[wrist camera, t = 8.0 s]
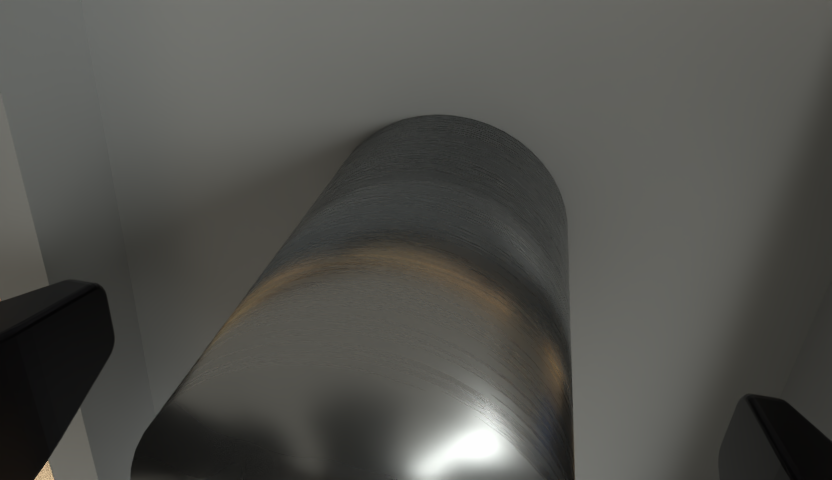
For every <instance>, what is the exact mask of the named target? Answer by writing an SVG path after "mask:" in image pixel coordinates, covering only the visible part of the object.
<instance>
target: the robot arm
mask: <svg viewBox="0 0 832 480" xmlns="http://www.w3.org/2000/svg"><path fill="white" fill-rule="evenodd" d="M114 343H115V333H114V328H113V323H112V318H111V313H110V308H109V303H108V298H107V294H106V291H105V289H104V288H103V287H102V286H101V285H100V284H98V283H94V282H88V281H82V280H76V279H67V280H63V281H60V282H57V283H54V284H51V285H48V286H45V287H42V288H39V289H36V290H33V291H30V292H27V293H24V294H21V295H18V296H15V297H12V298H9V299H6V300H3V301H0V480H34V479H35V478H36V476H37V475H38V473H39V472H40V471H41V469H42V468H43V466H44V465H45V463H46V462H47V461H48V459H49V458H50V456H51V455H52V453H53V451H54V450H55V448H56V447H57V445H58V444H59V442H60V440H61V439H62V437H63V435H64V434H65V432H66V430H67V429H68V427H69V425H70V424H71V422H72V420H73V418H74V417H75V415H76V413H77V412H78V410H79V408H80V407H81V405H82V403H83V402H84V400H85V398H86V396H87V395H88V393H89V391H90V390H91V388H92V386H93V385H94V383H95V381H96V379H97V378H98V376H99V374H100V373H101V371H102V369H103V368H104V366H105V364H106V363H107V361H108V359H109V357H110V356H111V353H112V351H113V348H114ZM718 473H719V480H832V441H831V440H830V439H829V438H828V437H827V436H825V435H824V434H823V433H822V432H821V431H820V430H819V429H817V428H816V427H815V426H814V425H813V424H812V423H811V422H810V421H808V420H807V419H806V418H805V417H804V416H803V415H802V414H800V413H799V412H798V411H797V410H796V409H795V408H794V407H792V406H791V405H790V404H789V403H788V402H786V401H785V400H783V399H780V398H775V397H769V396H763V395H757V394H751V393H748V394H745V395H743V396H742V397H741V398H740V399H739V400H738V402H737V404H736V407H735V409H734V412H733V414H732V417H731V419H730V422H729V424H728V427H727V429H726V432H725V435H724V437H723V440H722V442H721V445H720V448H719V454H718Z"/></svg>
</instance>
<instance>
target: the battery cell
mask: <svg viewBox="0 0 832 480" xmlns="http://www.w3.org/2000/svg"><path fill="white" fill-rule="evenodd" d="M130 480H575V458H574V424H573V390H572V357H571V323H570V289H569V255H568V222H567V215H566V209H565V204H564V202H563V199H562V196H561V193H560V190H559V188H558V186H557V184H556V182H555V180H554V178H553V176H552V175H551V174H550V172H549V171H548V169H547V168H546V167H545V165H544V164H543V163H542V161H541V160H540V159H539V158H538V157H537V156H536V155H535V154H534V153H533V152H532V151H531V150H530V149H529V148H528V147H526V146H525V145H524V144H523V143H521V142H520V141H519V140H517V139H516V138H514V137H513V136H511V135H509V134H508V133H506V132H505V131H503V130H501V129H498V128H496V127H494V126H492V125H490V124H487V123H484V122H481V121H478V120H474V119H471V118H465V117H460V116H452V115H427V116H419V117H414V118H409V119H404V120H402V121H399V122H396V123H393V124H390V125H388V126H386V127H384V128H382V129H380V130H379V131H377V132H375V133H374V134H372V135H371V136H369V137H368V138H367V139H365V140H364V141H363V142H362V143H361V144H359V145H358V146H357V147H356V148H355V149H354V150H353V151H352V153H351V154H350V155H349V156H348V158H347V159H346V160H345V162H344V163H343V164H342V166H341V167H340V168H339V170H338V171H337V172H336V174H335V175H334V176H333V178H332V179H331V180H330V182H329V183H328V185H327V186H326V187H325V189H324V190H323V191H322V193H321V194H320V195H319V197H318V198H317V199H316V201H315V202H314V203H313V205H312V206H311V207H310V209H309V210H308V212H307V213H306V214H305V216H304V217H303V218H302V220H301V221H300V222H299V224H298V225H297V226H296V228H295V229H294V230H293V232H292V233H291V234H290V236H289V237H288V239H287V240H286V241H285V243H284V244H283V245H282V247H281V248H280V249H279V251H278V252H277V253H276V255H275V256H274V257H273V259H272V260H271V261H270V263H269V264H268V266H267V267H266V268H265V270H264V271H263V272H262V274H261V275H260V276H259V278H258V279H257V280H256V282H255V283H254V284H253V286H252V287H251V288H250V290H249V291H248V293H247V294H246V295H245V297H244V298H243V299H242V301H241V302H240V303H239V305H238V306H237V307H236V309H235V310H234V311H233V313H232V314H231V315H230V317H229V318H228V320H227V321H226V322H225V324H224V325H223V326H222V328H221V329H220V330H219V332H218V333H217V334H216V336H215V337H214V338H213V340H212V341H211V342H210V344H209V345H208V347H207V348H206V349H205V351H204V352H203V353H202V355H201V356H200V357H199V359H198V360H197V361H196V363H195V364H194V365H193V367H192V368H191V369H190V371H189V372H188V374H187V375H186V376H185V378H184V379H183V380H182V382H181V383H180V384H179V386H178V387H177V388H176V390H175V391H174V392H173V394H172V395H171V396H170V398H169V399H168V401H167V402H166V403H165V405H164V406H163V407H162V409H161V410H160V411H159V413H158V414H157V415H156V417H155V418H154V419H153V421H152V422H151V423H150V425H149V426H148V428H147V429H146V430H145V432H144V433H143V435H142V437H141V439H140V441H139V443H138V445H137V447H136V449H135V453H134V457H133V461H132V465H131V474H130Z"/></svg>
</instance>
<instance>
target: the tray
mask: <svg viewBox="0 0 832 480" xmlns="http://www.w3.org/2000/svg"><path fill="white" fill-rule="evenodd" d="M427 115H452V116H460V117H465V118H471V119H474V120H478V121H481V122H484V123H487V124H490V125H492V126H494V127H496V128H498V129H501V130H503V131H505V132H506V133H508V134H509V135H511V136H513V137H514V138H516V139H517V140H519V141H520V142H521V143H523V144H524V145H525V146H526V147H528V148H529V149H530V150H531V151H532V152H533V153H534V154H535V155H536V156H537V157H538V158H539V159H540V160H541V161H542V163H543V164H544V165H545V167H546V168H547V169H548V171H549V172H550V174H551V175H552V176H553V178H554V180H555V182H556V184H557V186H558V188H559V190H560V193H561V196H562V199H563V202H564V204H565V209H566V215H567V222H568V255H569V289H570V323H571V357H572V390H573V424H574V458H575V480H719V473H718V454H719V448H720V445H721V442H722V440H723V437H724V435H725V432H726V429H727V427H728V424H729V422H730V419H731V417H732V414H733V412H734V409H735V407H736V404H737V402H738V400H739V399H740V398H741V397H742V396H743V395H745V394H748V393H751V394H757V395H763V396H769V397H775V398H780V399H783V400H785V401H786V402H788V403H789V404H790V405H791V406H792V407H794V408H795V409H796V410H797V411H798V412H799V413H800V414H802V415H803V416H804V417H805V418H806V419H807V420H808V421H810V422H811V423H812V424H813V425H814V426H815V427H816V428H817V429H819V430H820V431H821V432H822V433H823V434H824V435H825V436H827V437H828V438H829V439H830V440H831V441H832V0H0V299H1V301H3V300H6V299H9V298H12V297H15V296H18V295H21V294H24V293H27V292H30V291H33V290H36V289H39V288H42V287H45V286H48V285H51V284H54V283H57V282H60V281H63V280H67V279H76V280H82V281H88V282H94V283H98V284H100V285H101V286H102V287H103V288H104V289H105V291H106V294H107V298H108V303H109V308H110V313H111V318H112V323H113V328H114V333H115V343H114V348H113V351H112V353H111V356H110V357H109V359H108V361H107V363H106V364H105V366H104V368H103V369H102V371H101V373H100V374H99V376H98V378H97V379H96V381H95V383H94V385H93V386H92V388H91V390H90V391H89V393H88V395H87V396H86V398H85V400H84V402H83V403H82V405H81V407H80V408H79V410H78V412H77V413H76V415H75V417H74V418H73V420H72V422H71V424H70V425H69V427H68V429H67V430H66V432H65V434H64V435H63V437H62V439H61V440H60V442H59V444H58V445H57V447H56V448H55V450H54V451H53V453H52V455H51V456H50V458H49V459H48V460H49V463H50V467H51V470H52V474H53V477H54V480H130V474H131V465H132V461H133V457H134V453H135V449H136V447H137V445H138V443H139V441H140V439H141V437H142V435H143V433H144V432H145V430H146V429H147V428H148V426H149V425H150V423H151V422H152V421H153V419H154V418H155V417H156V415H157V414H158V413H159V411H160V410H161V409H162V407H163V406H164V405H165V403H166V402H167V401H168V399H169V398H170V396H171V395H172V394H173V392H174V391H175V390H176V388H177V387H178V386H179V384H180V383H181V382H182V380H183V379H184V378H185V376H186V375H187V374H188V372H189V371H190V369H191V368H192V367H193V365H194V364H195V363H196V361H197V360H198V359H199V357H200V356H201V355H202V353H203V352H204V351H205V349H206V348H207V347H208V345H209V344H210V342H211V341H212V340H213V338H214V337H215V336H216V334H217V333H218V332H219V330H220V329H221V328H222V326H223V325H224V324H225V322H226V321H227V320H228V318H229V317H230V315H231V314H232V313H233V311H234V310H235V309H236V307H237V306H238V305H239V303H240V302H241V301H242V299H243V298H244V297H245V295H246V294H247V293H248V291H249V290H250V288H251V287H252V286H253V284H254V283H255V282H256V280H257V279H258V278H259V276H260V275H261V274H262V272H263V271H264V270H265V268H266V267H267V266H268V264H269V263H270V261H271V260H272V259H273V257H274V256H275V255H276V253H277V252H278V251H279V249H280V248H281V247H282V245H283V244H284V243H285V241H286V240H287V239H288V237H289V236H290V234H291V233H292V232H293V230H294V229H295V228H296V226H297V225H298V224H299V222H300V221H301V220H302V218H303V217H304V216H305V214H306V213H307V212H308V210H309V209H310V207H311V206H312V205H313V203H314V202H315V201H316V199H317V198H318V197H319V195H320V194H321V193H322V191H323V190H324V189H325V187H326V186H327V185H328V183H329V182H330V180H331V179H332V178H333V176H334V175H335V174H336V172H337V171H338V170H339V168H340V167H341V166H342V164H343V163H344V162H345V160H346V159H347V158H348V156H349V155H350V154H351V153H352V151H353V150H354V149H355V148H356V147H357V146H358V145H359V144H361V143H362V142H363V141H364V140H365V139H367V138H368V137H369V136H371V135H372V134H374V133H375V132H377V131H379V130H380V129H382V128H384V127H386V126H388V125H390V124H393V123H396V122H399V121H402V120H404V119H409V118H414V117H419V116H427Z"/></svg>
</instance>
